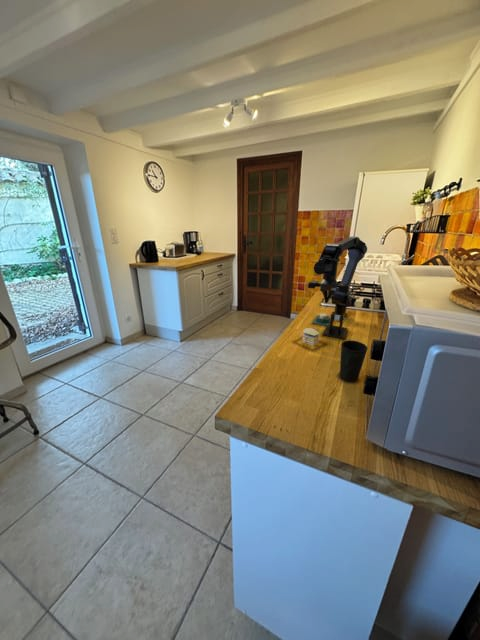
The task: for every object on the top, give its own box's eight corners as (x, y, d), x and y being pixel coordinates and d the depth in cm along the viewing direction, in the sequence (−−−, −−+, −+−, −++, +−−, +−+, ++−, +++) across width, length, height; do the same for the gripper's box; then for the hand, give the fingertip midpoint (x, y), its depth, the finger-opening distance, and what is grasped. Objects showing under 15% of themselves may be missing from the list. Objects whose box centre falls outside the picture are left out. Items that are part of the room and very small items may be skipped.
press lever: (335, 321, 125) (337, 314, 125) (342, 322, 124) (343, 315, 124) (332, 320, 114) (334, 313, 114) (340, 321, 112) (341, 314, 112)
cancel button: (320, 316, 131) (320, 313, 130) (327, 317, 130) (327, 314, 129) (318, 318, 128) (319, 315, 128) (326, 319, 127) (326, 316, 126)
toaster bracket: (327, 327, 124) (330, 308, 121) (347, 330, 120) (350, 311, 117) (322, 336, 114) (324, 316, 111) (343, 340, 110) (346, 320, 107)
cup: (356, 371, 88) (362, 340, 84) (364, 384, 81) (371, 352, 77) (334, 370, 89) (338, 339, 85) (339, 383, 82) (345, 351, 78)
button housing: (316, 318, 136) (317, 312, 135) (332, 320, 132) (333, 315, 131) (312, 324, 128) (312, 319, 126) (328, 327, 124) (329, 321, 123)
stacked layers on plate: (325, 344, 108) (327, 332, 106) (312, 350, 102) (314, 338, 100) (306, 336, 115) (307, 325, 113) (293, 342, 110) (294, 330, 108)
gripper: (306, 273, 118) (303, 304, 123) (349, 276, 109) (343, 310, 115) (312, 269, 127) (309, 298, 132) (352, 272, 118) (347, 304, 124)
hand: (326, 303), depth 126 cm, fingers closed
